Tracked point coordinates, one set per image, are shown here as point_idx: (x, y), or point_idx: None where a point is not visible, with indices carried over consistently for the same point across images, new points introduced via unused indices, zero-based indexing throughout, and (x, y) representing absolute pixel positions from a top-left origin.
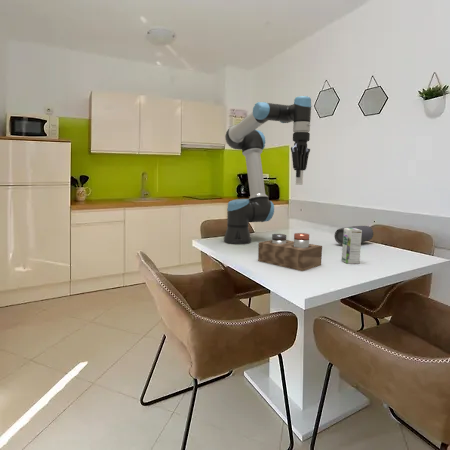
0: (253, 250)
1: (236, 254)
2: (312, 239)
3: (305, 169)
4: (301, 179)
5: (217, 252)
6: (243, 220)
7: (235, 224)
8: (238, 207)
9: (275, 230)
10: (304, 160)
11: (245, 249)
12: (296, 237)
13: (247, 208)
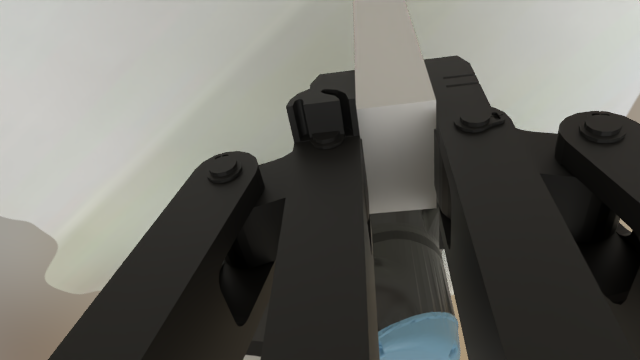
0: (479, 63)
1: (610, 43)
2: (38, 95)
3: (292, 101)
4: (391, 24)
5: (626, 114)
6: (409, 256)
7: (437, 255)
8: (443, 319)
9: (87, 291)
10: (276, 328)
11: (488, 97)
12: None
13: (389, 304)
